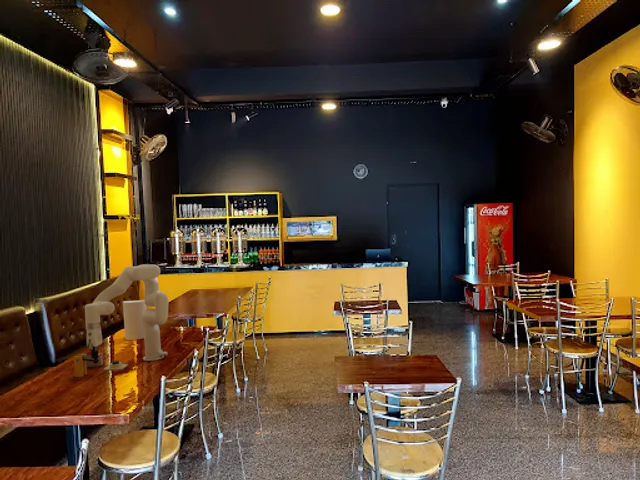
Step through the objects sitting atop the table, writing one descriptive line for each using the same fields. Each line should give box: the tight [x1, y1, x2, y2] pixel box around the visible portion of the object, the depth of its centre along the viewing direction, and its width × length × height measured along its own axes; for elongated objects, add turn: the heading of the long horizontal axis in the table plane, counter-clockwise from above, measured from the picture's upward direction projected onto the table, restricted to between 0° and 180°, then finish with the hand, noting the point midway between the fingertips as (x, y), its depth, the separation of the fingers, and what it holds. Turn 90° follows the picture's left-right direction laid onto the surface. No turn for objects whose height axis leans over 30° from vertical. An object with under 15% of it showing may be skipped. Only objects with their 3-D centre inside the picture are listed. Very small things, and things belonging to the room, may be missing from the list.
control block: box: [103, 361, 129, 372], centre depth 294 cm, size 11×9×4 cm
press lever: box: [82, 356, 99, 364], centre depth 281 cm, size 12×3×3 cm, turn 91°
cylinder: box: [122, 299, 148, 341], centre depth 381 cm, size 17×17×28 cm
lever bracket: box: [73, 353, 88, 378], centre depth 281 cm, size 10×8×13 cm
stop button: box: [111, 359, 120, 365], centre depth 294 cm, size 4×4×2 cm
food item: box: [84, 351, 104, 368], centre depth 302 cm, size 14×8×10 cm, turn 93°
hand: (95, 358), depth 281 cm, fingers closed
